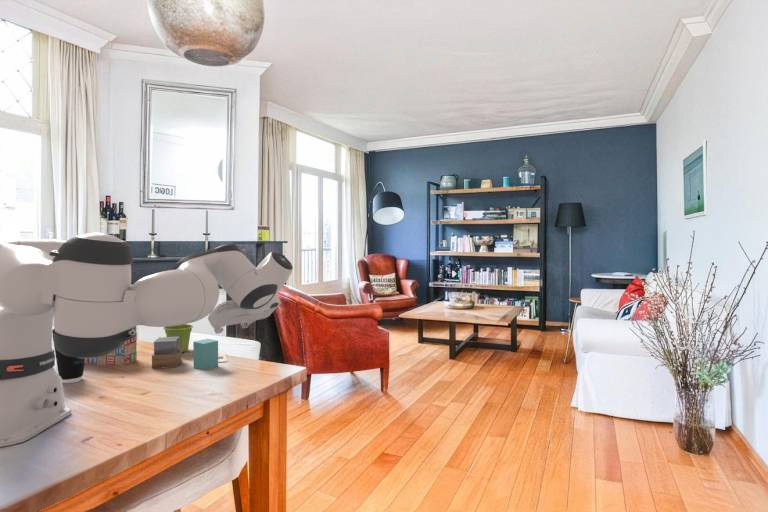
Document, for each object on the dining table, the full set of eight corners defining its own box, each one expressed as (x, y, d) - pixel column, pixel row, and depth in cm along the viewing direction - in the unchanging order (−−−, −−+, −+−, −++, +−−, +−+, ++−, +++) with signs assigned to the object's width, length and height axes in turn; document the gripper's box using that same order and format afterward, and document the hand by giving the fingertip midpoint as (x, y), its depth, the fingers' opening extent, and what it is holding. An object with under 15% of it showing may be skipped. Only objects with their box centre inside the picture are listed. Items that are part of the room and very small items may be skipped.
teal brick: (218, 366, 138) (218, 340, 138) (204, 370, 134) (204, 343, 134) (207, 363, 141) (207, 338, 141) (193, 367, 137) (193, 341, 136)
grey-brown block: (177, 367, 137) (176, 341, 137) (151, 368, 135) (151, 342, 135) (181, 361, 144) (181, 336, 144) (157, 362, 142) (157, 337, 142)
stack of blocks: (59, 363, 140) (58, 324, 140) (74, 358, 146) (74, 320, 146) (124, 365, 139) (124, 326, 138) (137, 360, 145) (137, 322, 144)
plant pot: (193, 347, 162) (193, 323, 162) (192, 353, 153) (192, 328, 153) (165, 349, 159) (164, 324, 159) (162, 355, 150) (161, 330, 150)
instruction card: (227, 361, 144) (227, 360, 144) (200, 364, 140) (200, 363, 140) (225, 354, 153) (225, 353, 153) (199, 356, 150) (199, 355, 150)
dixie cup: (86, 382, 122) (86, 342, 122) (50, 386, 118) (50, 345, 118) (90, 374, 129) (89, 336, 129) (56, 378, 125) (55, 339, 125)
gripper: (229, 311, 116) (204, 344, 122) (285, 302, 134) (262, 331, 139) (217, 293, 118) (194, 326, 124) (274, 286, 136) (251, 315, 141)
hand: (230, 328), depth 132 cm, fingers open, 8 cm apart
